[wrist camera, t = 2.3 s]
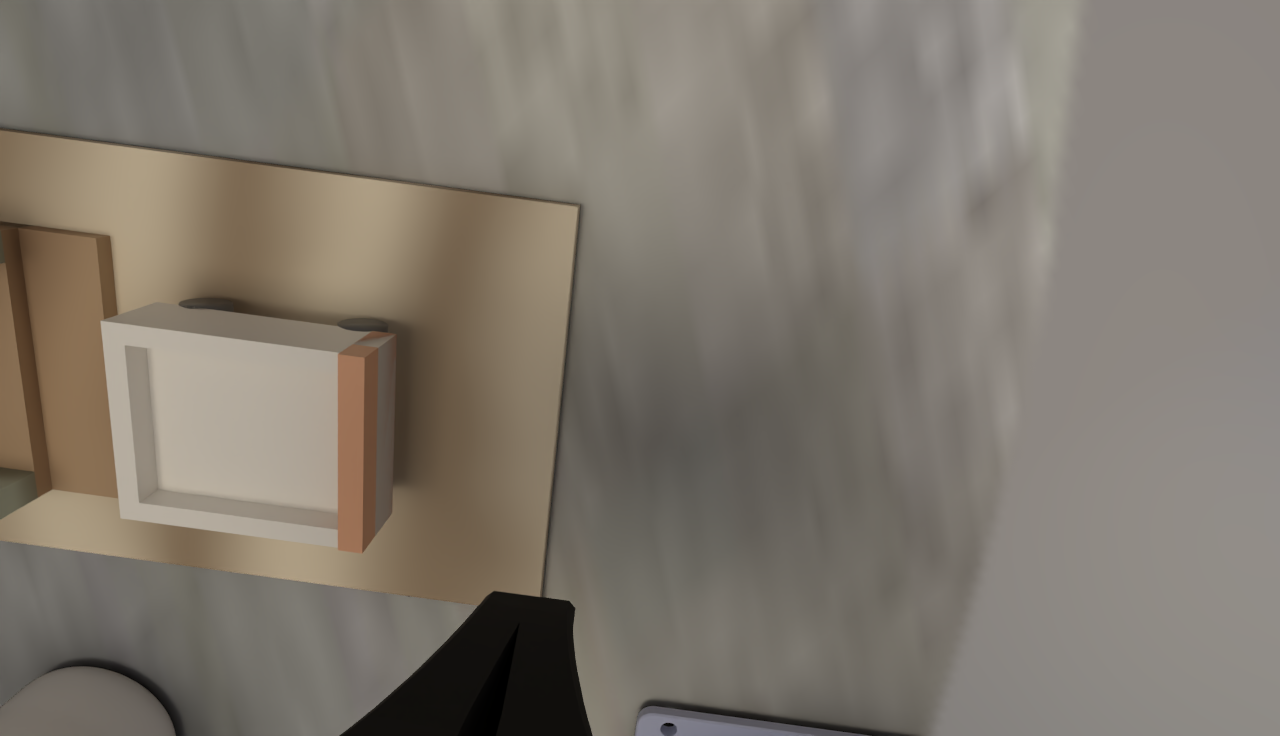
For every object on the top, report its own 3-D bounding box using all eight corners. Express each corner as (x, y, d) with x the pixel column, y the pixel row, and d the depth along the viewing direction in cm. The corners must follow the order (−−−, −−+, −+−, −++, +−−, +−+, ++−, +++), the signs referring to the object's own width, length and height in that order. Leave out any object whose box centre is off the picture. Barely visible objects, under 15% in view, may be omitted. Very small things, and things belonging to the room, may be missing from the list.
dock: (580, 204, 19) (558, 222, 16) (541, 603, 23) (516, 690, 19) (-162, 106, 19) (-350, 101, 16) (-81, 519, 23) (-219, 589, 19)
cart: (410, 324, 19) (364, 358, 17) (404, 495, 21) (362, 553, 18) (182, 293, 19) (96, 321, 17) (193, 467, 21) (117, 520, 18)
